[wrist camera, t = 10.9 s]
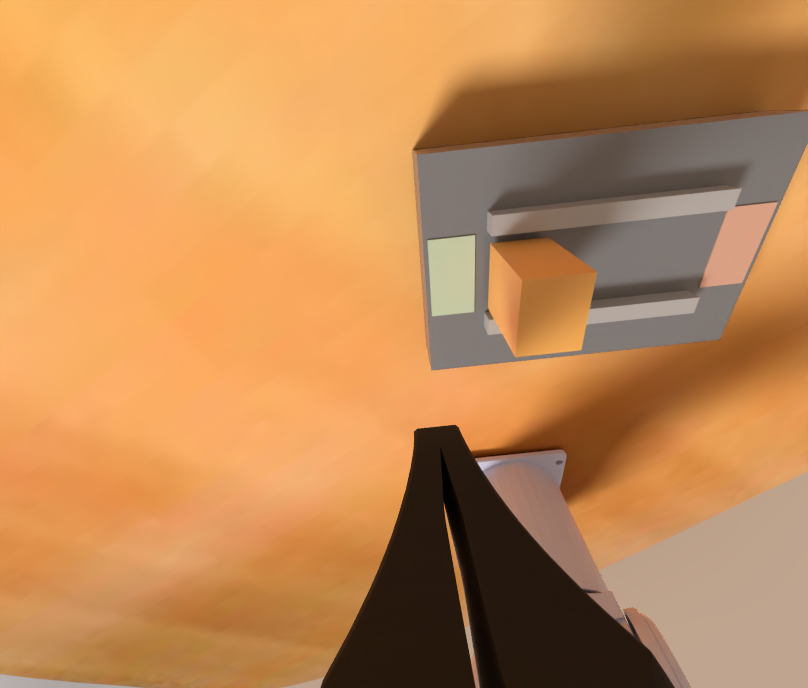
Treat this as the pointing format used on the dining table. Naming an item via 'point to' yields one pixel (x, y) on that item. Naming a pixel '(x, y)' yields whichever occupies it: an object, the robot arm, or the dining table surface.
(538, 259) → the handle
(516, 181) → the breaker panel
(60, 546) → the dining table surface
